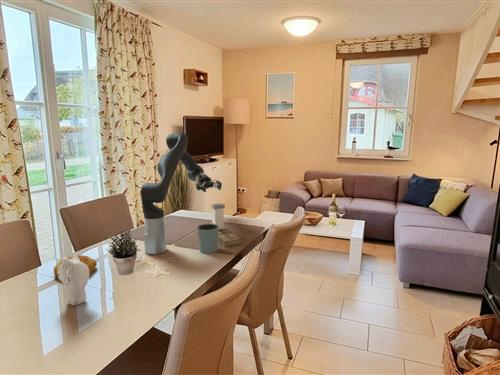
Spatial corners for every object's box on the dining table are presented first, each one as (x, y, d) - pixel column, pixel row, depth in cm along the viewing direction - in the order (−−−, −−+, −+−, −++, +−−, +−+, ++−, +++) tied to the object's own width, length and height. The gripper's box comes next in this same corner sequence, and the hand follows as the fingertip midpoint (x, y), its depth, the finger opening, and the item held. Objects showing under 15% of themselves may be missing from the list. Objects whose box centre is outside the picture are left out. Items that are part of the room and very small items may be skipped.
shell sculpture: (82, 293, 118) (77, 246, 115) (93, 301, 113) (88, 252, 109) (58, 303, 112) (51, 253, 108) (68, 311, 107) (61, 260, 103)
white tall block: (212, 228, 179) (211, 204, 177) (222, 227, 182) (221, 203, 179) (215, 230, 176) (214, 206, 173) (225, 229, 178) (224, 205, 176)
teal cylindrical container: (208, 256, 151) (207, 231, 149) (193, 251, 157) (192, 227, 155) (223, 249, 159) (222, 225, 157) (208, 244, 165) (207, 222, 163)
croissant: (59, 274, 139) (54, 256, 137) (99, 264, 143) (94, 247, 141) (51, 289, 125) (45, 270, 123) (95, 277, 130) (90, 259, 128)
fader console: (208, 234, 181) (208, 228, 180) (223, 231, 185) (223, 226, 184) (224, 247, 162) (224, 241, 161) (240, 243, 166) (240, 238, 165)
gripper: (191, 176, 191) (200, 184, 177) (214, 173, 196) (224, 181, 183) (192, 188, 193) (200, 197, 179) (215, 185, 199) (224, 193, 185)
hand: (212, 189), depth 181 cm, fingers open, 8 cm apart
